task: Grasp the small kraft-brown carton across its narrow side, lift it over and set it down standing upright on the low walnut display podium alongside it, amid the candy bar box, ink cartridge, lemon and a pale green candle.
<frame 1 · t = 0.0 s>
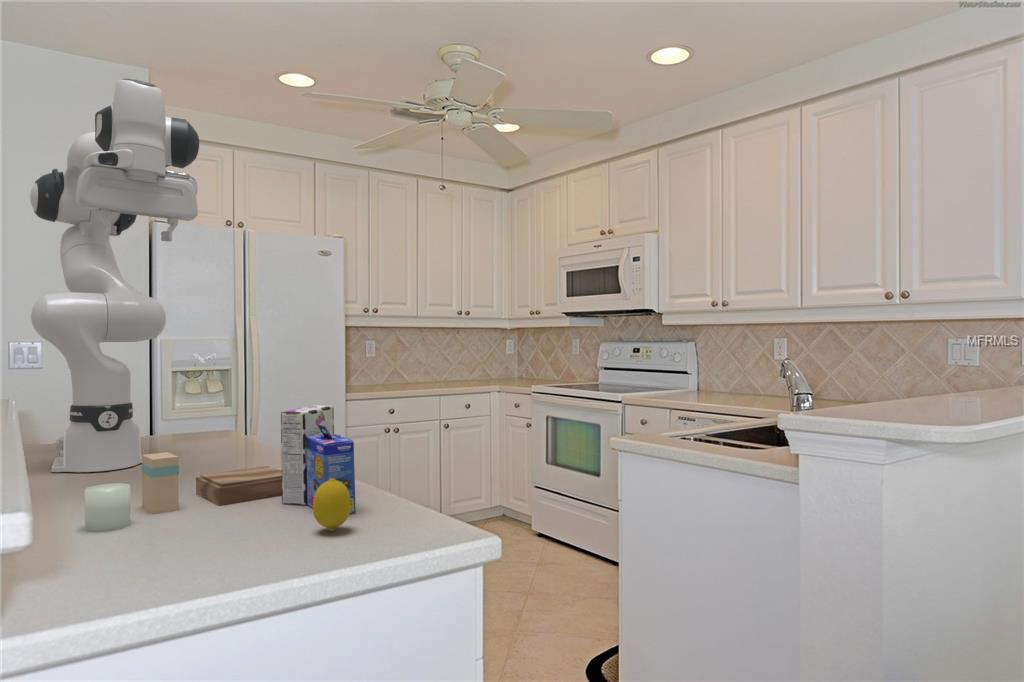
hand: (139, 238, 125), 48 cm above the counter, fingers open, 8 cm apart
candy bar box: (308, 498, 120), on the counter
carton: (160, 508, 112), on the counter
pale green candle: (107, 526, 101), on the counter
ink cartridge box: (330, 510, 112), on the counter
podium: (246, 493, 123), on the counter
lemon: (332, 532, 99), on the counter
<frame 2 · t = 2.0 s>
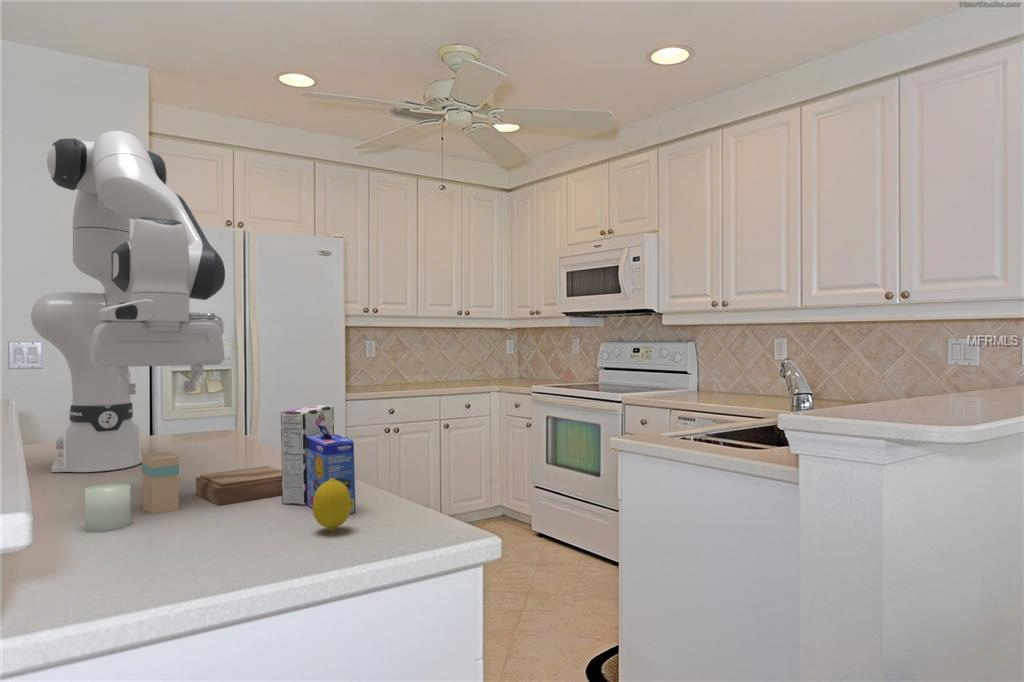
hand: (160, 392, 112), 20 cm above the counter, fingers open, 8 cm apart
nothing on the counter moved.
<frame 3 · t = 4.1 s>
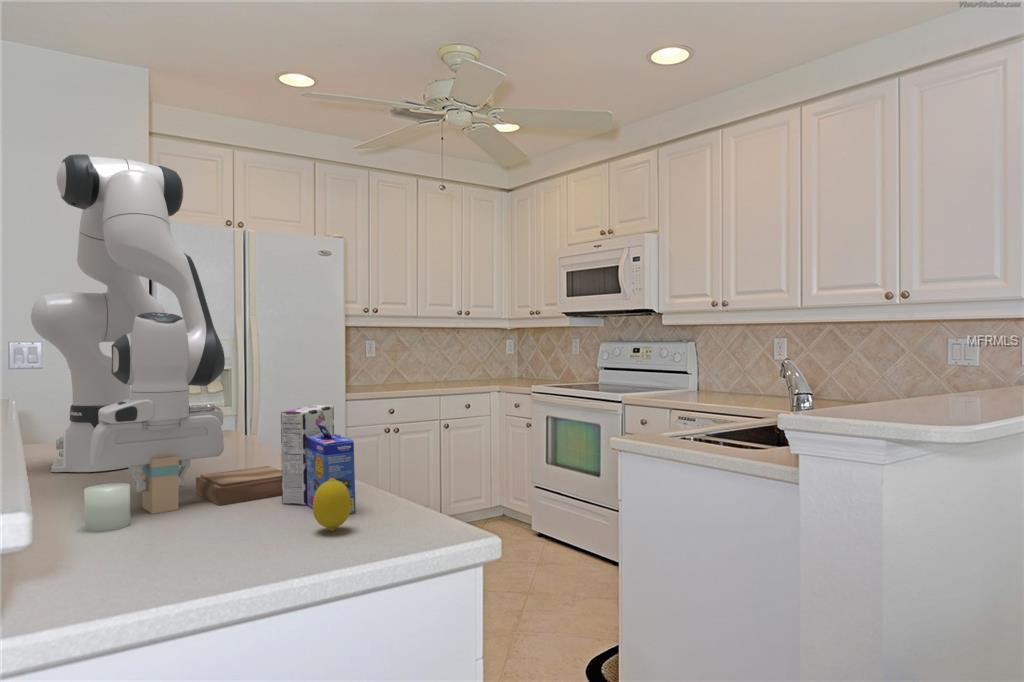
hand: (160, 488, 112), 3 cm above the counter, fingers closed on carton, 4 cm apart
carton: (160, 508, 112), on the counter, touching gripper
everything else where it was.
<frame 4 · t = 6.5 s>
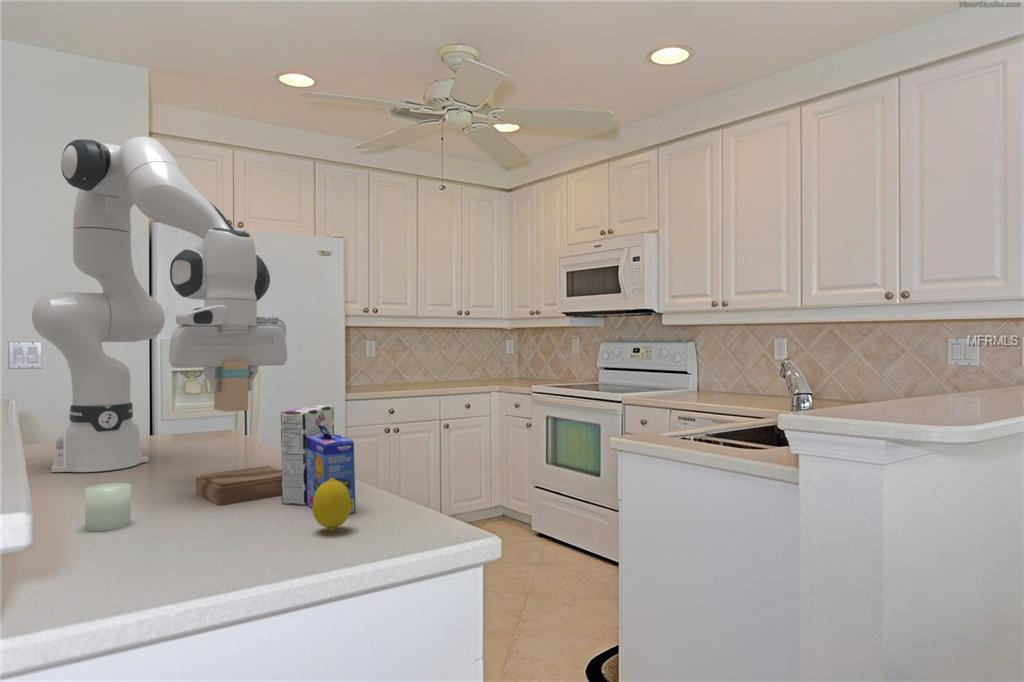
hand: (231, 391, 121), 19 cm above the counter, fingers closed on carton, 4 cm apart
carton: (231, 409, 121), point 16 cm above the counter, touching gripper
everything else where it was.
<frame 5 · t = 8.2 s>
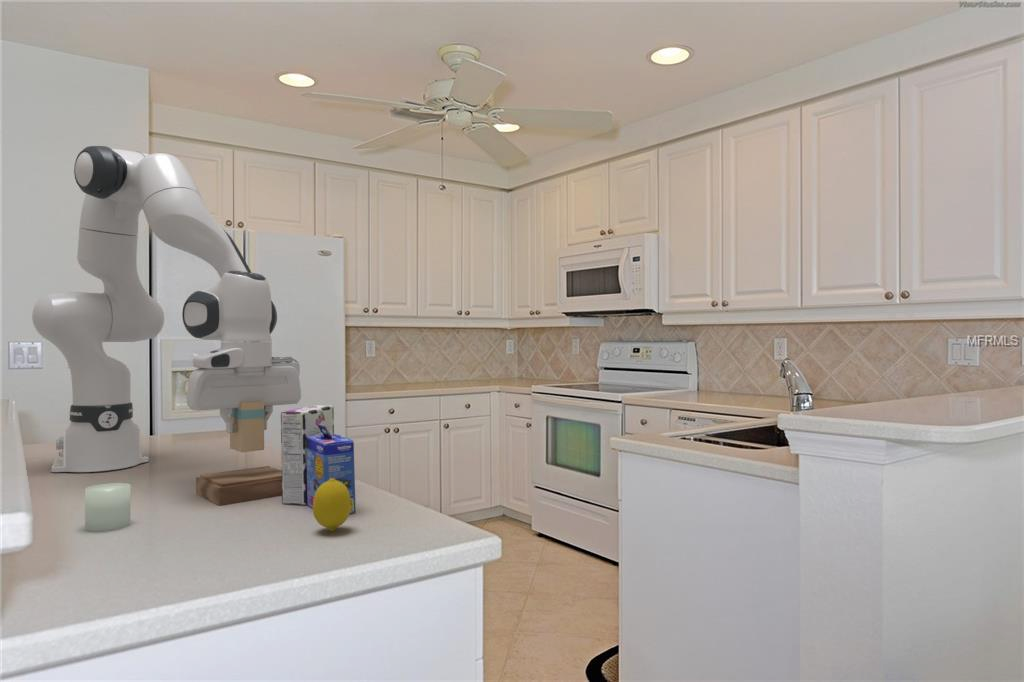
hand: (246, 431, 123), 12 cm above the counter, fingers closed on carton, 4 cm apart
carton: (247, 449, 123), point 8 cm above the counter, touching gripper
everything else where it was.
when the fingers open (7 cm above the counter, at t = 9.3 s): carton stays where it is, resting on podium.
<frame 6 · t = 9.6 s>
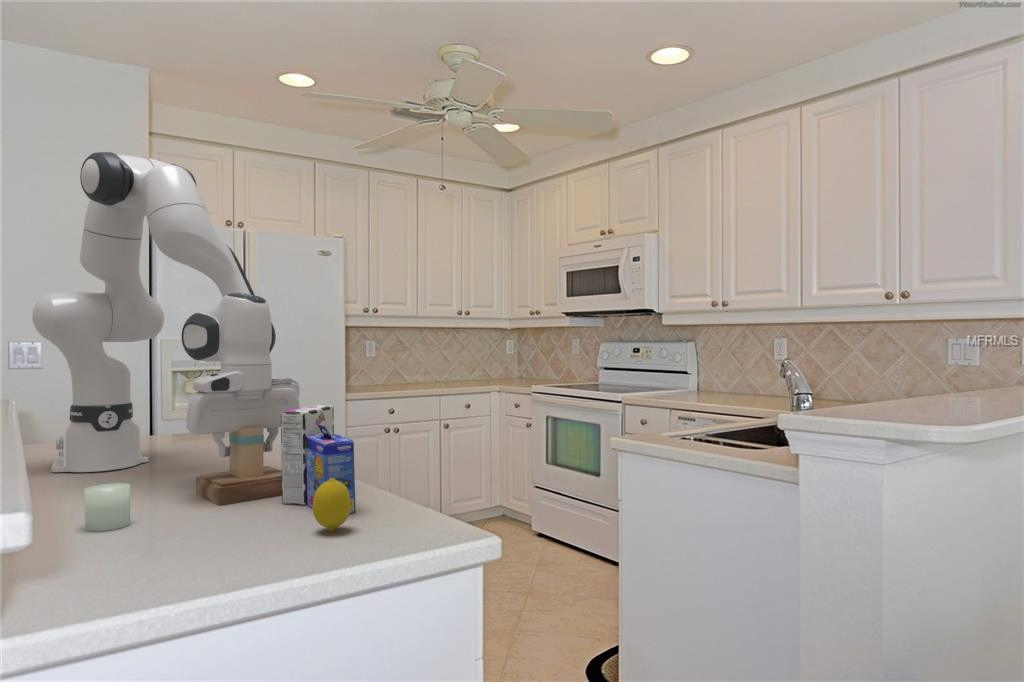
hand: (246, 453, 123), 7 cm above the counter, fingers open, 6 cm apart
carton: (246, 474, 123), point 3 cm above the counter, touching podium
everything else where it was.
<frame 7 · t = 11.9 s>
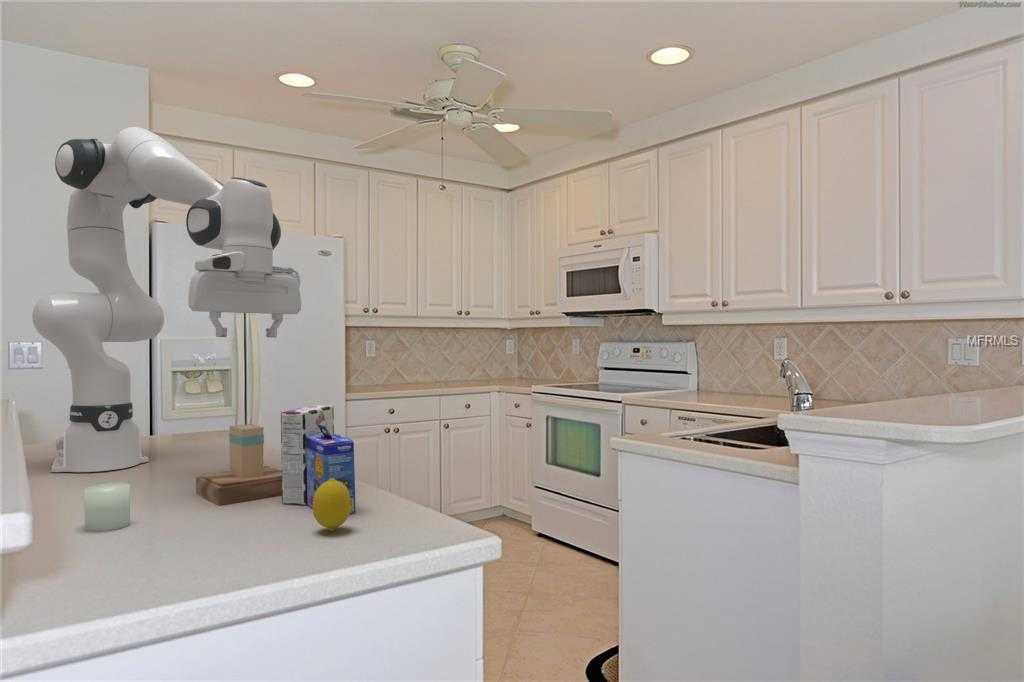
hand: (247, 337, 124), 29 cm above the counter, fingers open, 8 cm apart
nothing on the counter moved.
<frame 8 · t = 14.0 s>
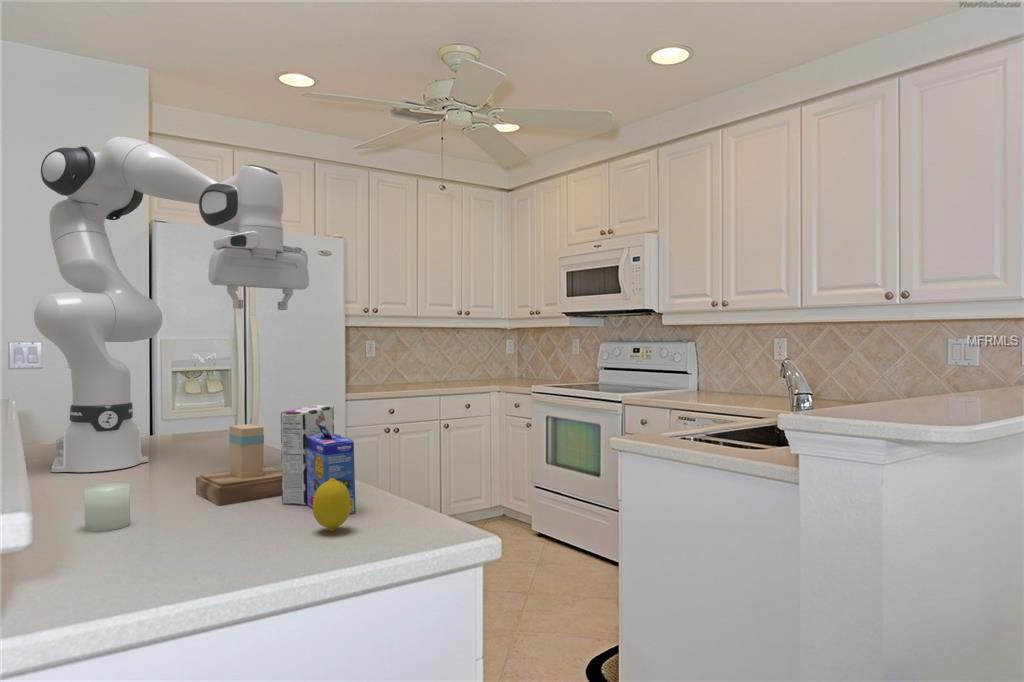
hand: (260, 309, 138), 35 cm above the counter, fingers open, 8 cm apart
nothing on the counter moved.
at the end: carton 0.0 cm from the podium (horizontally); carton tilted 0°; carton touching podium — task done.
